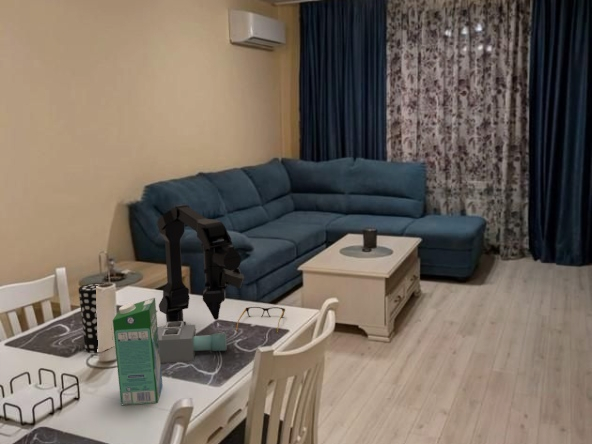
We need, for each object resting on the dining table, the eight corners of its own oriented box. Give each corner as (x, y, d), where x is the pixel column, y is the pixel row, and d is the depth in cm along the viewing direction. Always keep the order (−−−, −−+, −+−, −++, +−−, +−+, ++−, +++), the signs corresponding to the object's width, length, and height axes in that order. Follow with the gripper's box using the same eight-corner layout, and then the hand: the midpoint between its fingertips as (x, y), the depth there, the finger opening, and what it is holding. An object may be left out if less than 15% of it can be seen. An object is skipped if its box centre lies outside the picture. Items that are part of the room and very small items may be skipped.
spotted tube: (104, 353, 174) (97, 291, 170) (79, 352, 176) (72, 290, 172) (117, 343, 182) (111, 283, 178) (94, 341, 184) (88, 282, 180)
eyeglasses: (286, 318, 200) (285, 307, 200) (277, 333, 186) (277, 322, 186) (247, 316, 203) (246, 306, 202) (235, 332, 189) (235, 320, 188)
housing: (158, 348, 177) (155, 322, 175) (196, 345, 178) (195, 320, 176) (151, 363, 166) (149, 336, 164) (193, 360, 167) (191, 333, 165)
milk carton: (128, 388, 151) (119, 299, 146) (162, 386, 152) (155, 297, 147) (121, 405, 142) (111, 311, 137) (157, 402, 143) (149, 308, 138)
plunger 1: (170, 326, 175) (169, 321, 175) (180, 325, 175) (180, 320, 175) (168, 330, 172) (168, 325, 171) (179, 329, 172) (178, 324, 172)
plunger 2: (167, 333, 169) (166, 328, 169) (178, 332, 169) (177, 328, 169) (165, 337, 166) (165, 332, 166) (176, 337, 166) (176, 332, 166)
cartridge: (158, 357, 169) (157, 340, 168) (161, 350, 174) (160, 334, 173) (225, 353, 170) (224, 336, 169) (226, 346, 175) (225, 330, 174)
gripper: (240, 271, 159) (243, 323, 162) (242, 255, 177) (244, 302, 180) (200, 273, 158) (204, 326, 161) (206, 256, 176) (209, 304, 179)
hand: (217, 314), depth 170 cm, fingers open, 9 cm apart
